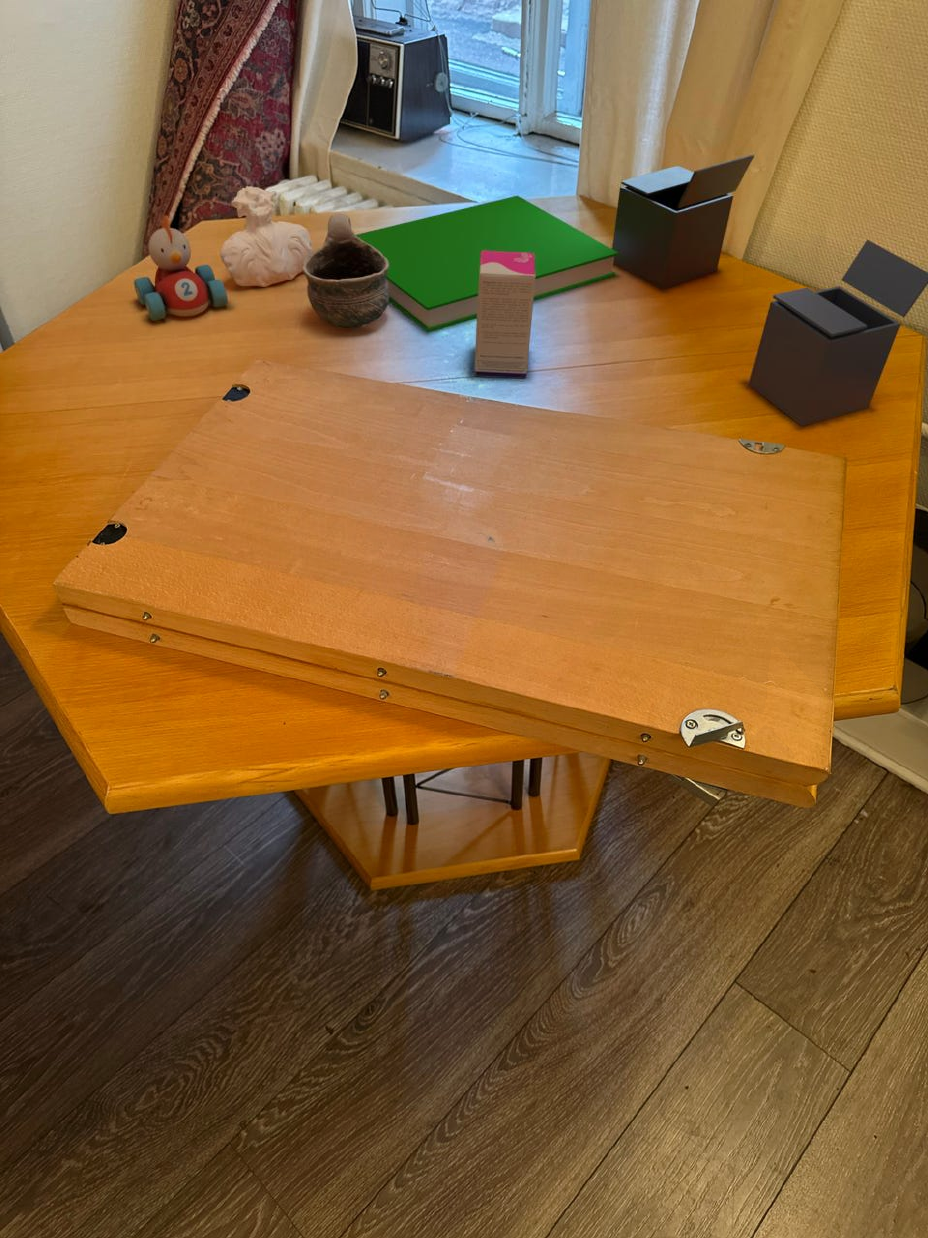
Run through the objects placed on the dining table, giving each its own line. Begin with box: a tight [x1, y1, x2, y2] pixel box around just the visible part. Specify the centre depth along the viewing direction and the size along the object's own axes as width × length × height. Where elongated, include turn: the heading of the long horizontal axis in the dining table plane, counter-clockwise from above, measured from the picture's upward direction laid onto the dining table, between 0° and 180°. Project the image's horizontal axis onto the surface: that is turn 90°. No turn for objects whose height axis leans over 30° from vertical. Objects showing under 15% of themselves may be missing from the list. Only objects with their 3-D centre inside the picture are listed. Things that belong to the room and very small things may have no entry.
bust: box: [219, 185, 313, 288], centre depth 110 cm, size 12×8×11 cm
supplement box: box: [473, 250, 535, 379], centre depth 94 cm, size 6×6×12 cm
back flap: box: [677, 154, 755, 208], centre depth 104 cm, size 5×10×1 cm
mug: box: [302, 213, 389, 329], centre depth 102 cm, size 10×12×10 cm
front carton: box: [747, 285, 902, 427], centre depth 91 cm, size 9×9×10 cm
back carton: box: [611, 165, 734, 291], centre depth 113 cm, size 10×10×10 cm
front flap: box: [840, 239, 928, 318], centre depth 88 cm, size 4×9×1 cm
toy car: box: [133, 215, 229, 322], centre depth 104 cm, size 9×9×10 cm
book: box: [355, 195, 618, 333], centre depth 114 cm, size 22×28×3 cm
